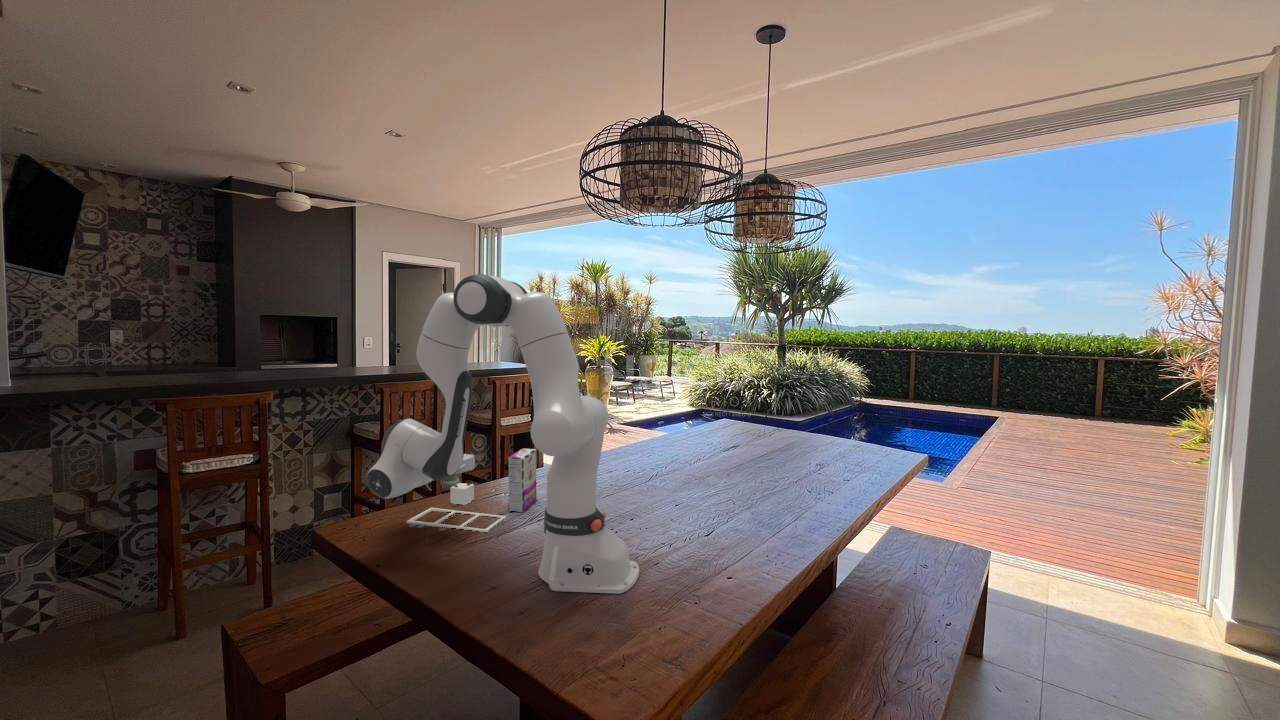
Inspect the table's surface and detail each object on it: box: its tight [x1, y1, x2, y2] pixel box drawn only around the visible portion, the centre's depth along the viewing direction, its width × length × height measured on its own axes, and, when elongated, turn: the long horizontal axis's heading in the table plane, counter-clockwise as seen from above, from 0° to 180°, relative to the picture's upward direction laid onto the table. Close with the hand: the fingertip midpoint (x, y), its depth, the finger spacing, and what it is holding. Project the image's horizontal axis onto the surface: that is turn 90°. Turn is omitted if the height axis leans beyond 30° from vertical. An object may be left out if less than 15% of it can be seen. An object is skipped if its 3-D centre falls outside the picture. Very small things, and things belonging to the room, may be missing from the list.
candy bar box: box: [507, 447, 537, 513], centre depth 163 cm, size 11×5×16 cm, turn 171°
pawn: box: [441, 474, 460, 486], centre depth 150 cm, size 4×4×14 cm
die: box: [449, 482, 475, 506], centre depth 166 cm, size 5×5×6 cm
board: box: [406, 507, 507, 533], centre depth 149 cm, size 24×13×1 cm, turn 77°
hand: (452, 453), depth 151 cm, fingers closed on pawn, 4 cm apart
